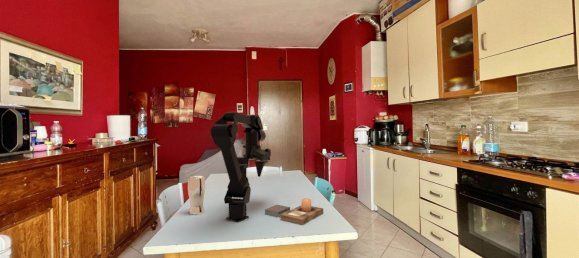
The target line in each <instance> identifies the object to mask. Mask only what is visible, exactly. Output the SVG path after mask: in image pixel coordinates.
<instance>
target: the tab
mask: <svg viewBox="0 0 579 258" xmlns="http://www.w3.org/2000/svg"><path fill="white" fill-rule="evenodd" d="M290 210H291V207H290V206H285V205H283V204H281V205H280V204H275V205H273V206H269V207H266V208H265V209H264V215H268V216H272V217H276V218H279V217H280V215H281V214H283V213H285V212H287V211H290Z"/></svg>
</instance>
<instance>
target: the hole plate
mask: <svg viewBox="0 0 579 258" xmlns="http://www.w3.org/2000/svg"><path fill="white" fill-rule="evenodd" d="M322 214H324V208H322V207H319V206H314V205H311V212H310V213H308V212H303V211H302V210H301V205H299V206H297V207H294V208H292V209H290V211H287V212H285V213H283V214H281V215H280V218H279V219H280V221H283V222H288V223H292V224H296V225H300V226H303V225H305V224H306V223H309V222H311V221H312V220H314V219H317V218H318V217H319V216H321V215H322Z"/></svg>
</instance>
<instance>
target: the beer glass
mask: <svg viewBox="0 0 579 258" xmlns="http://www.w3.org/2000/svg"><path fill="white" fill-rule="evenodd" d="M205 179H206V178H205V176H204V175H190V176H188V179H187V194H188V198H189V204H190V206H189V214H190V215H201V214H204V213H205V205H204V202H205V201H204V200H205V193H206V180H205Z"/></svg>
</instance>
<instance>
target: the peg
mask: <svg viewBox="0 0 579 258" xmlns="http://www.w3.org/2000/svg"><path fill="white" fill-rule="evenodd" d="M300 201H301V203H300V204H301V205H300V206H301V210H302V211H303V212H308V213H310V212H311V206H312V199H311V198H302V199H301V200H300Z"/></svg>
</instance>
